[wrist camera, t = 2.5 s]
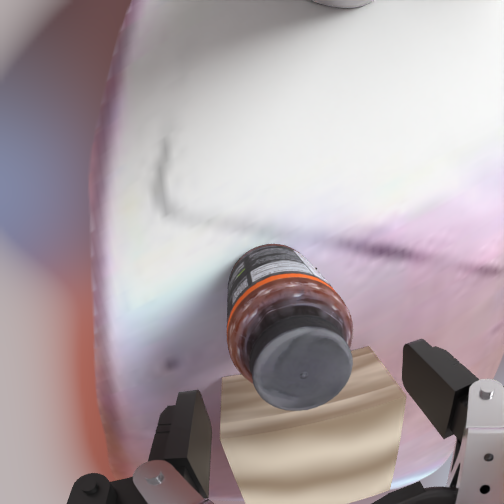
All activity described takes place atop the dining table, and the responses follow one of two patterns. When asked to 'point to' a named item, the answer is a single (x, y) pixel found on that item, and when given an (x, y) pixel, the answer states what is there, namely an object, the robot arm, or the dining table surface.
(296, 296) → the supplement bottle
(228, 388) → the birch block
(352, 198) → the dining table surface
